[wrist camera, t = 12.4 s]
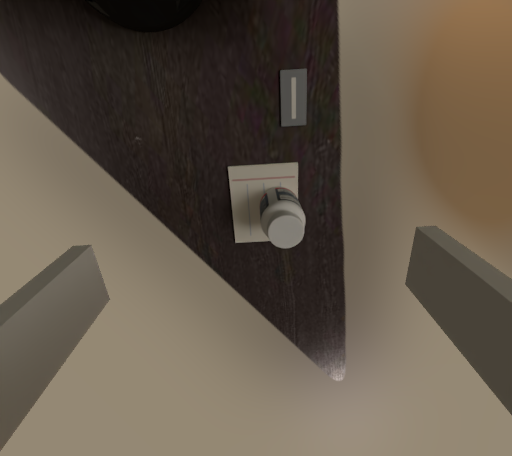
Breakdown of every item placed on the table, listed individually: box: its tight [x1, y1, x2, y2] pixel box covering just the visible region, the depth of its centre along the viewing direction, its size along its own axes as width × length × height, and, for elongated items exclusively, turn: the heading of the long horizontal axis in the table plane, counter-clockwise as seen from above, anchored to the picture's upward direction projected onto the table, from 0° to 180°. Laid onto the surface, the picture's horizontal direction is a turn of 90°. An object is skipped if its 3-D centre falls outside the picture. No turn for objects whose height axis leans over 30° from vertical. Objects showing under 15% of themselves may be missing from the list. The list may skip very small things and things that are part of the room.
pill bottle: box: [259, 187, 305, 248], centre depth 35 cm, size 5×5×9 cm
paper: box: [228, 162, 298, 243], centre depth 39 cm, size 11×9×1 cm
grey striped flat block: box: [280, 69, 307, 126], centre depth 33 cm, size 6×3×1 cm, turn 3°
